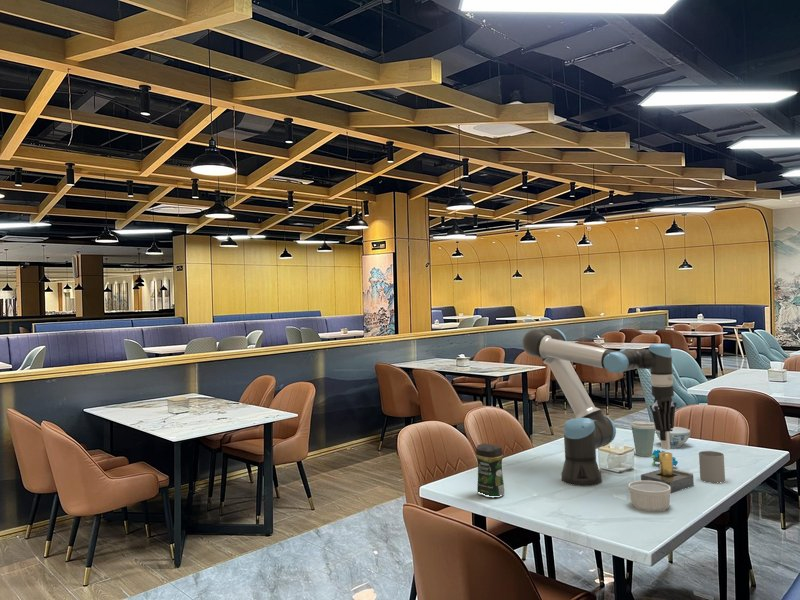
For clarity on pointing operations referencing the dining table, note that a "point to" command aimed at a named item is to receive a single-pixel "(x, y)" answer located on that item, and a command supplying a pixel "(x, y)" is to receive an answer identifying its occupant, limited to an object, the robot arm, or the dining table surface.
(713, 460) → the cup
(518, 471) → the dining table surface
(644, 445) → the disposable coffee cup
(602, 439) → the robot arm
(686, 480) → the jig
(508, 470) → the dining table surface
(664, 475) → the brass cylinder peg
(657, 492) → the ramekin
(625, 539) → the dining table surface
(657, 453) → the gear
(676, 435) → the chinaware
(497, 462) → the coffee jar
